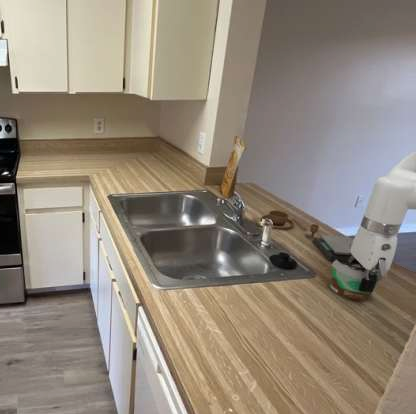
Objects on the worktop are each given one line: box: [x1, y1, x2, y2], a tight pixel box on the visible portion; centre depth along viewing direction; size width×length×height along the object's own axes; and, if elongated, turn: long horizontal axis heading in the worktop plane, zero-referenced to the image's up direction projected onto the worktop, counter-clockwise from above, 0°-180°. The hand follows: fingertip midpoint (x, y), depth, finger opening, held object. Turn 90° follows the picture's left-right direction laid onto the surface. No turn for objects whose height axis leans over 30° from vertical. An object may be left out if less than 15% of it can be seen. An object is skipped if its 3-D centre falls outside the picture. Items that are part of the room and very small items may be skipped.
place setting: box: [254, 210, 320, 240], centre depth 131 cm, size 18×20×6 cm
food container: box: [329, 260, 379, 302], centre depth 91 cm, size 12×6×10 cm, turn 76°
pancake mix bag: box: [220, 135, 247, 199], centre depth 163 cm, size 7×19×28 cm, turn 165°
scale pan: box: [319, 234, 354, 255], centre depth 113 cm, size 10×12×1 cm
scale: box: [312, 237, 350, 264], centre depth 114 cm, size 11×13×3 cm
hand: (358, 282), depth 91 cm, fingers closed on food container, 6 cm apart
